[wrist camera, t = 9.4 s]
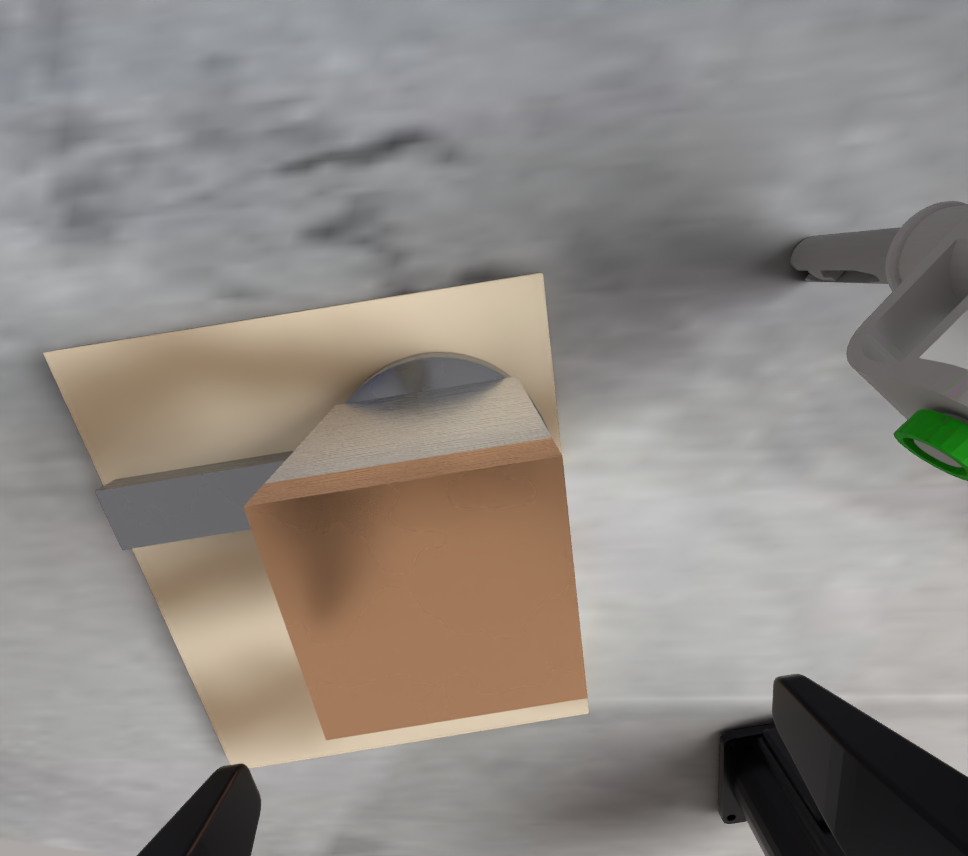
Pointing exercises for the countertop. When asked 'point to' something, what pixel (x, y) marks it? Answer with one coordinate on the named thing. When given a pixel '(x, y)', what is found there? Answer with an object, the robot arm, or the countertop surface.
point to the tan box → (425, 559)
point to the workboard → (269, 430)
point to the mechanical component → (910, 323)
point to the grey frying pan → (255, 464)
